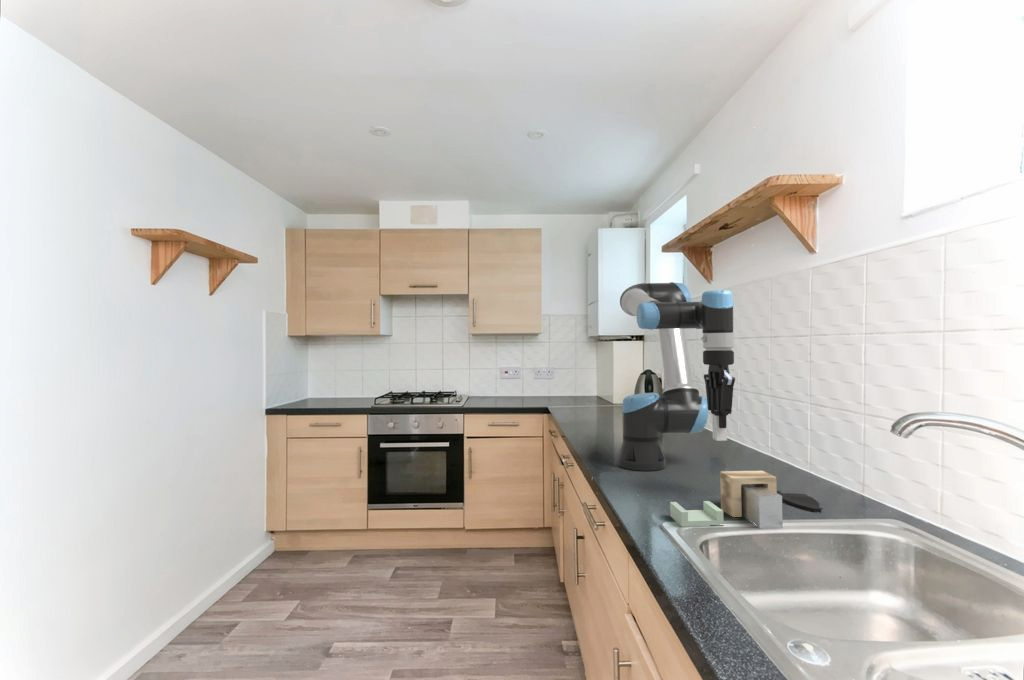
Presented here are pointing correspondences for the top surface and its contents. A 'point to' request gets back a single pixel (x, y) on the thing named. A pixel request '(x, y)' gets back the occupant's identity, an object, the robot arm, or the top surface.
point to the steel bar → (761, 506)
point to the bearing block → (732, 488)
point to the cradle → (697, 515)
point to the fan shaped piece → (800, 501)
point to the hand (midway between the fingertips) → (719, 439)
